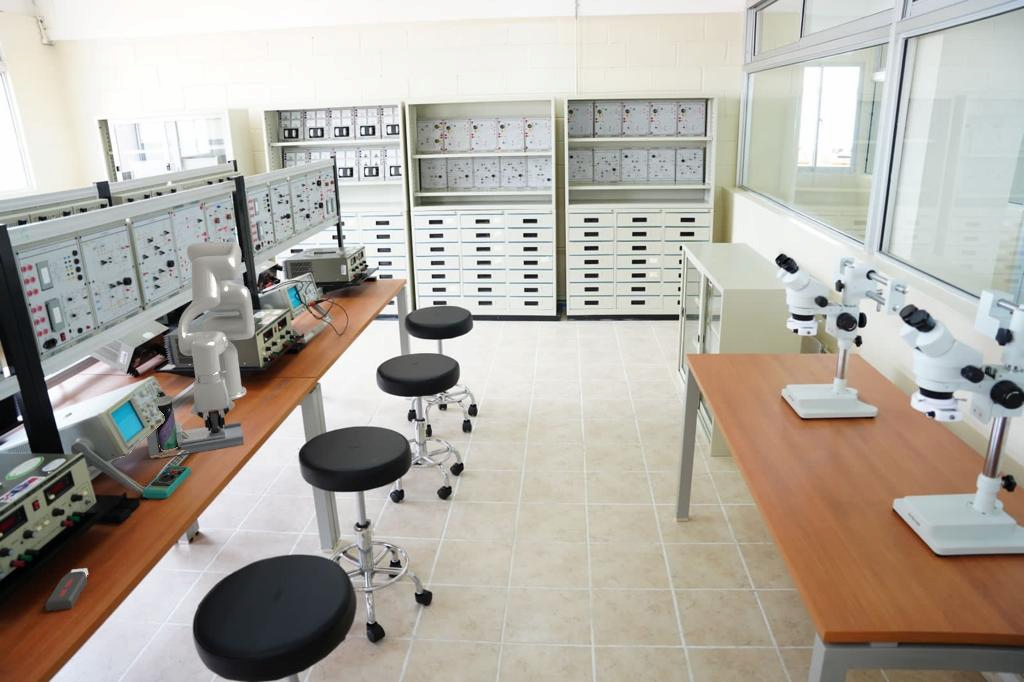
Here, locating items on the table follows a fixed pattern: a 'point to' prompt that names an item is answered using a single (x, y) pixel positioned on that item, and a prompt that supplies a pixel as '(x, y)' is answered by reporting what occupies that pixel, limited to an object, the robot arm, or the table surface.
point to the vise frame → (231, 439)
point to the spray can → (166, 422)
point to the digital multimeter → (167, 482)
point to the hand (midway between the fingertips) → (215, 427)
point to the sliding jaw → (201, 431)
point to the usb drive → (68, 590)
